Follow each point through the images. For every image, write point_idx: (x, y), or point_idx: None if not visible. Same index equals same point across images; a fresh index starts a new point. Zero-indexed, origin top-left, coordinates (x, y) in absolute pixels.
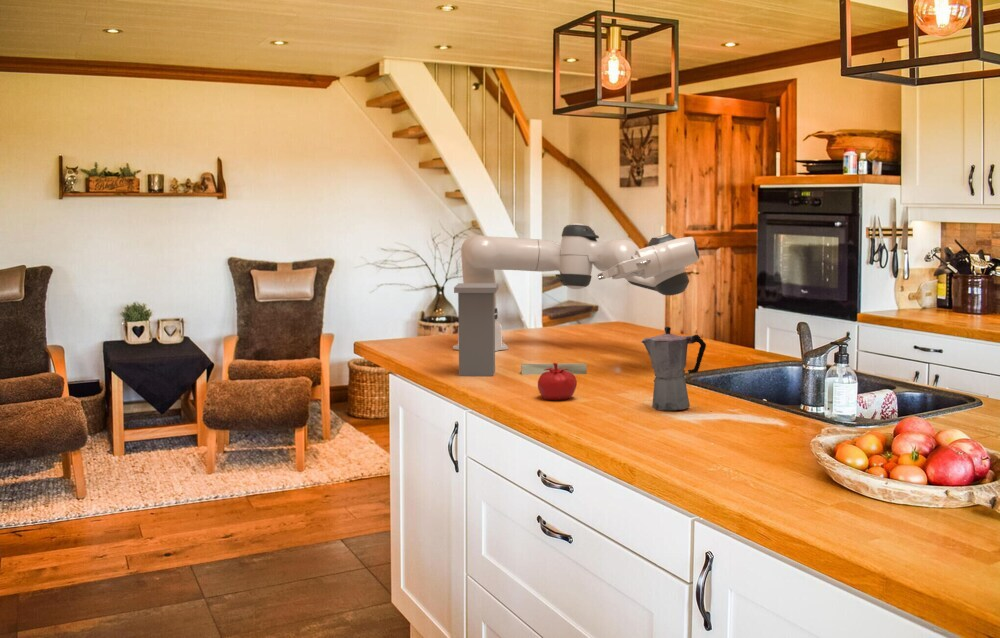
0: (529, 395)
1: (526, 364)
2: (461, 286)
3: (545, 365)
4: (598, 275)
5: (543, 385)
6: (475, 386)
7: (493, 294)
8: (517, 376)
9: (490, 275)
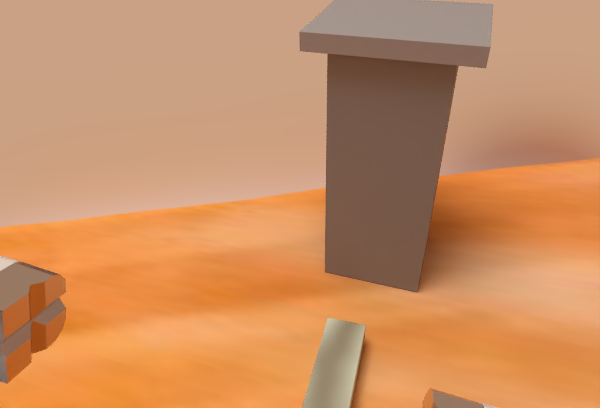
0: None
1: (346, 334)
2: (372, 2)
3: (309, 382)
4: (424, 398)
5: None
6: (217, 224)
7: (368, 65)
8: (302, 319)
9: None
